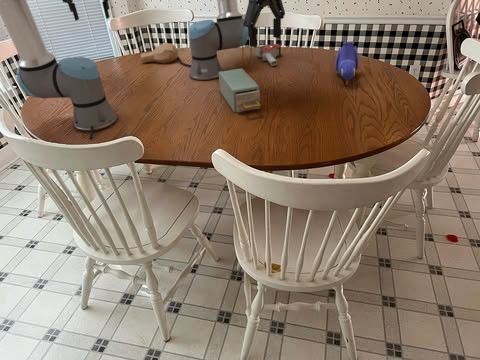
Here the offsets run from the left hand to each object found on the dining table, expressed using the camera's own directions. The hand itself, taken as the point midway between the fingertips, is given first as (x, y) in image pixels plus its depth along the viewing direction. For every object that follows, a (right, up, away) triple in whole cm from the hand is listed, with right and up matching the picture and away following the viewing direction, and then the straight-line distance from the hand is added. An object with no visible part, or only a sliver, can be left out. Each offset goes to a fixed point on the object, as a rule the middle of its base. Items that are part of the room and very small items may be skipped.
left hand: (92, 18), depth 155 cm
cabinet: (+64, -38, -12) cm, 75 cm away
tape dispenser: (+79, -9, +27) cm, 84 cm away
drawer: (+66, -40, -17) cm, 79 cm away
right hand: (+74, -20, -26) cm, 81 cm away
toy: (+111, -26, 0) cm, 114 cm away
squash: (+22, -8, +33) cm, 41 cm away
